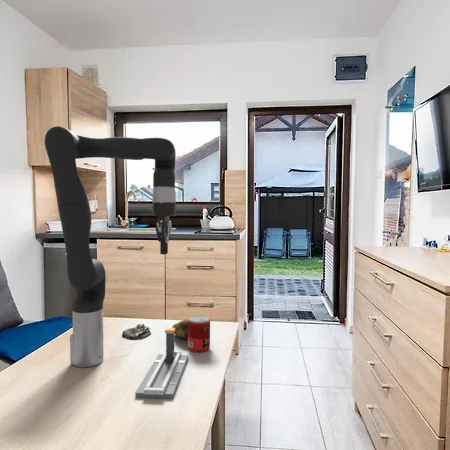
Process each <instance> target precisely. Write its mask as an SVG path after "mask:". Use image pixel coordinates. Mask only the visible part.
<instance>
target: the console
mask: <svg viewBox="0 0 450 450" xmlns="http://www.w3.org/2000/svg"><path fill="white" fill-rule="evenodd" d="M174 355H175V359H174V361H173V363H168V362H165V358H166V350H165V352H164V353H163V354H159V353H158V355H157V356H156V358H155V360H154V361H153V363H152V365H151V366H150V367H149V370H148V371H147V373H146V375H144V378H143V380H142V381H141V382H140V385H139V386H138V388H137V389H136V391H135V394H134V396H135V398H145V399H147V398H148V399H174V397H175V395H176V391H177V389H178V386H179V384H180V381H181V379H182V376H183V373H184V371H185V368H186V366H187V363H188V360H189V355H188V354H187V355H186V354H182V350H174Z"/></svg>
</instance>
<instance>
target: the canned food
mask: <svg viewBox="0 0 450 450" xmlns="http://www.w3.org/2000/svg"><path fill="white" fill-rule="evenodd" d="M187 320H188V338H187V348H188V350H189V351H190V352H192V353H205V352H207V351H209V350H210V347H211V318H210V317H209V316H207V315H203V314H202V315H201V314H197V315H196V314H195V315H192V316H191V315H190V316H189V317H188V318H187Z"/></svg>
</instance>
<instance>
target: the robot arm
mask: <svg viewBox="0 0 450 450" xmlns="http://www.w3.org/2000/svg"><path fill="white" fill-rule="evenodd" d="M44 147H45V151H46V154H47V157H48V161H49V164H50V168H51V173H52V176H53V182H54V190H55V195H56V196H55V197H56V202H57V203H56V204H57V209H58V215H59V219H60V223H61V230H62V235H63V241H64V247H65V256H66V271H67V279H68V282H69V284H70V285H71V287H72V288H73V289H74V290H76V295H75V298H74V299H73V301H72V305H71V306H72V333H71V334H70V335H69V352H70V353H69V354H70V355H69V358H70V359H69V361H70V362H69V365H70V366H75V367H76V368H77V367H78V368H90V367H94V366H97V365H100V364H102V362H103V361H104V302H105V301H104V300H105V298H106V269H105V266H104V265H103V263H102V262H101V261H100V260H98V259H96V258H92V254H91V248H90V236H91V228H92V212H91V206H90V205H91V204H90V200H89V197H88V194H87V190H86V188H85V186H84V183H83V182H82V180H81V179H82V178H80V175H79V172H78V169H77V168H78V167H77V163H76V162H77V161H76V160H78V159H79V160H80V159H87V158H88V159H89V158H90V159H91V158H105V159H115V160H118V159H119V160H129V161H130V160H132V161H142V160H145V159H146V160H154V172H153V175H152V185H153V186H152V193H151V194H152V195H151V196H152V201H151V202H152V204H151V206H152V207H151V208H152V209H151V211H152V216H154V217H158V218H157V221H156V226H155V231H156V236H157V237H156V238H157V241H158V242H159V246H160V248H159V253H160V255H167V254H168V253H169V242H170V240H171V235H172V234H171V233H172V228H173V226H172V221H171V219H170V217H175V216H176V215H177V214H176V213H177V211H176V208H177V206H176V203H177V197H176V177H175V176H176V175H175V170H176V169H175V168H176V152H177V151H176V147H175V146H174V143H173V142H172V141H171V140H170V139H168V138H164V137H146V138H145V137H144V138H142V137H141V138H140V137H129V136H111V137H104V138H102V137H101V138H94V137H86V136H82V135H78V134H76V133H74V132H73V131H71V130H69V128H66V127H63V126H59V125H58V126H57V125H56V126H53V127H51V128H49V129H48V130H47V132H46V133H45V135H44Z"/></svg>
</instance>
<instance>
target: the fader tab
mask: <svg viewBox="0 0 450 450" xmlns="http://www.w3.org/2000/svg"><path fill="white" fill-rule="evenodd" d="M174 332H175V328H172V327H166V328H165V330H164V333H165V341H166V342H165V346H166V347H165V348H166V349H165V351H166V358H165V362H168V363H173V361H174V359H175V355H174V351H175V334H174Z"/></svg>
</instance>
